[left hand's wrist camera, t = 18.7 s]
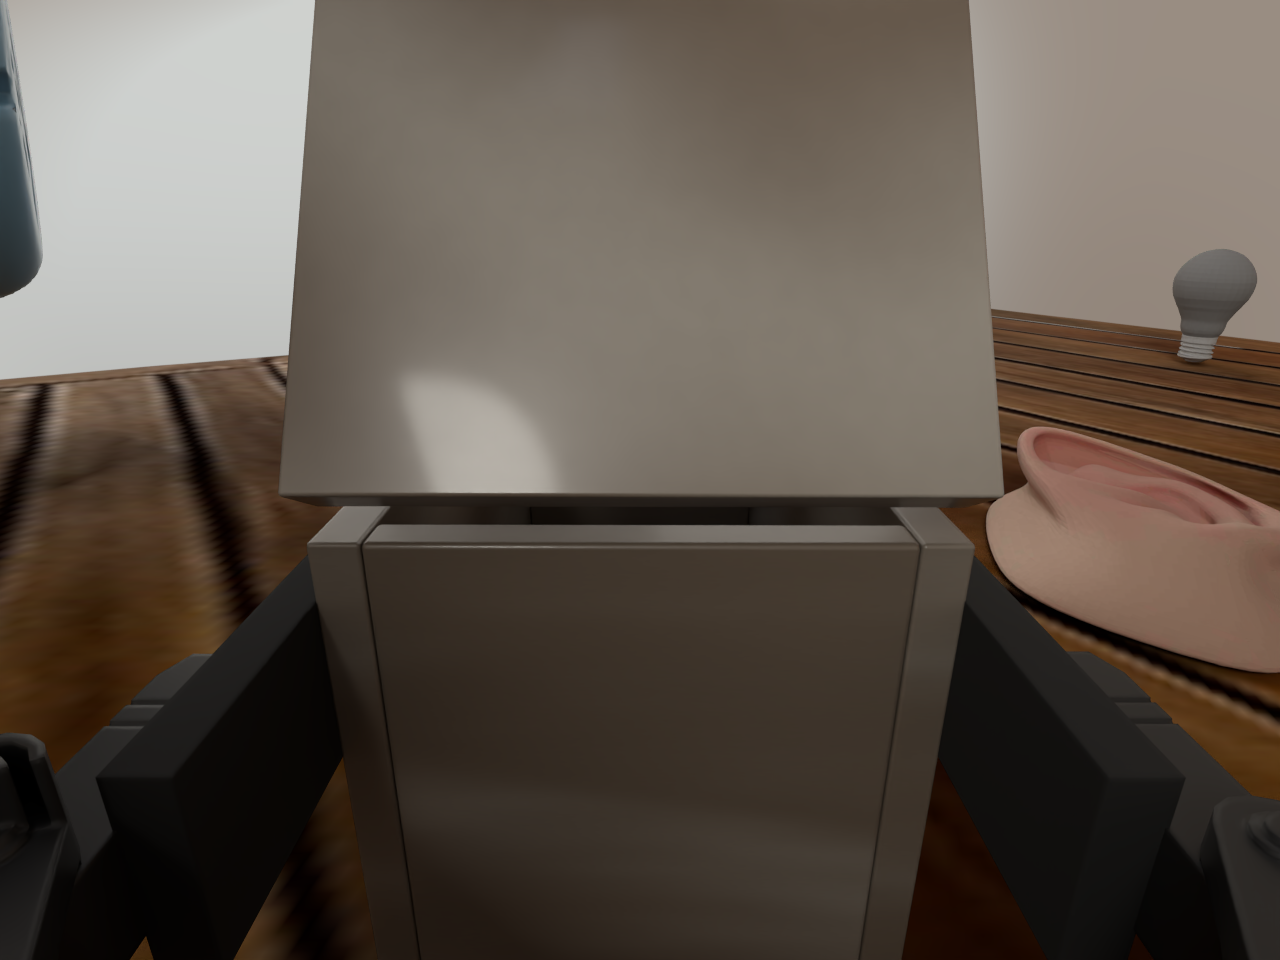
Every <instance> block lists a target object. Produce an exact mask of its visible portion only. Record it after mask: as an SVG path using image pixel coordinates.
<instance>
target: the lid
mask: <svg viewBox="0 0 1280 960" xmlns="http://www.w3.org/2000/svg"><path fill="white" fill-rule="evenodd" d="M278 493H279V495H280V496H281V497H284V498H288V499H292V500H296V501H300V502H303V503H307V504H311V505H315V506H446V507H952V508H964V507H968V506H972V505H976V504H980V503H984V502H988V501H992V500H996V499H1000V498H1002V497H1003V496H1004V486H1003V472H1002V458H1001V444H1000V430H999V417H998V403H997V389H996V375H995V361H994V347H993V333H992V319H991V305H990V291H989V277H988V263H987V249H986V236H985V222H984V208H983V194H982V180H981V166H980V152H979V138H978V124H977V110H976V96H975V82H974V69H973V54H972V41H971V26H970V13H969V0H315V11H314V24H313V37H312V51H311V64H310V78H309V91H308V104H307V118H306V131H305V144H304V158H303V171H302V185H301V198H300V211H299V225H298V238H297V251H296V264H295V278H294V291H293V305H292V318H291V332H290V344H289V358H288V371H287V384H286V398H285V411H284V425H283V438H282V451H281V465H280V478H279V491H278Z"/></svg>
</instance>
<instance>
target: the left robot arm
mask: <svg viewBox="0 0 1280 960" xmlns="http://www.w3.org/2000/svg"><path fill="white" fill-rule="evenodd" d="M41 263H42V238H41V228H40V220H39V212H38V204H37V196H36V188H35V181H34V174H33V166H32V160H31V152H30V145H29V138H28V131H27V125H26V118H25V111H24V105H23V99H22V92H21V87H20V80H19V73H18V66H17V60H16V53H15V46H14V40H13V34H12V28H11V22H10V16H9V10H8V4H7V0H0V298H2V297H5V296H7V295H10V294H13V293H14V292H16V291H18V290H20V289H21V288H23V287H25V286H26V285H27V284H29V283H30V282H31V280H32V279H33V278H34V277H35V276H36V274H37V273H38V270H39V268H40V266H41ZM342 757H343V753H342V748H341V742H340V736H339V730H338V725H337V719H336V713H335V708H334V702H333V696H332V690H331V684H330V679H329V673H328V667H327V661H326V656H325V650H324V644H323V638H322V632H321V627H320V621H319V615H318V609H317V603H316V598H315V592H314V586H313V580H312V574H311V569H310V563H309V557H308V555H307V556H306V557H305V558H304V559H303V560H302V561H301V562H300V563H299V564H298V565H297V566H296V567H295V568H294V569H293V570H292V571H291V573H290V574H289V575H288V576H287V577H286V578H285V579H284V580H283V581H282V582H281V583H280V584H279V585H278V586H277V587H276V588H275V589H274V590H273V591H272V592H271V594H270V595H269V596H268V597H267V598H266V599H265V600H264V601H263V602H262V603H261V604H260V605H259V606H258V607H257V608H256V609H255V610H254V611H253V612H252V613H251V614H250V616H249V617H248V618H247V619H246V620H245V621H244V622H243V623H242V624H241V625H240V626H239V627H238V628H237V629H236V630H235V631H234V632H233V633H232V634H231V635H230V637H229V638H228V639H227V640H226V641H225V642H224V643H223V644H222V645H221V646H220V647H219V648H218V649H217V650H216V651H215V652H214V653H213V654H192V655H191V656H189V657H187V658H186V659H184V660H182V661H180V662H179V663H177V664H175V665H174V666H172V667H170V668H169V669H167V670H165V671H163V672H162V673H160V674H158V675H157V676H156V677H155V678H154V679H153V680H152V681H151V682H150V683H149V684H148V685H147V686H146V687H144V688H143V689H142V690H141V691H140V692H139V693H138V694H137V695H136V696H135V697H134V698H133V699H132V703H131V705H126V706H125V707H124V708H123V709H122V710H121V711H120V712H119V713H118V714H117V715H116V716H115V717H114V718H113V719H112V720H111V721H110V725H109V726H104V727H103V728H102V729H101V730H100V731H99V732H98V733H97V734H96V735H95V736H94V737H93V738H92V739H91V740H90V741H89V742H88V743H87V744H86V745H85V746H84V747H83V748H82V749H81V750H80V751H79V752H78V753H77V754H76V755H75V756H74V757H72V758H71V759H70V760H69V761H68V762H67V763H66V764H65V765H64V766H63V767H62V768H61V769H60V770H59V771H58V772H57V773H56V774H54V771H53V768H52V765H51V762H50V759H49V757H48V754H47V751H46V748H45V745H44V743H43V742H42V741H40V740H38V739H37V738H35V737H34V736H32V735H28V734H16V733H4V734H0V960H130V958H131V957H132V955H133V954H134V953H135V951H136V950H137V948H138V947H139V945H140V944H141V942H142V941H143V939H144V938H145V936H146V937H147V940H148V943H149V946H150V949H151V953H152V956H153V959H154V960H233V959H234V957H235V956H236V954H237V952H238V950H239V948H240V946H241V944H242V943H243V941H244V939H245V937H246V935H247V933H248V931H249V930H250V928H251V926H252V924H253V922H254V920H255V918H256V917H257V915H258V913H259V911H260V909H261V907H262V905H263V904H264V902H265V900H266V898H267V896H268V894H269V893H270V891H271V889H272V887H273V885H274V883H275V881H276V880H277V878H278V876H279V874H280V872H281V870H282V868H283V867H284V865H285V863H286V861H287V859H288V857H289V855H290V854H291V852H292V850H293V848H294V846H295V844H296V842H297V841H298V839H299V837H300V835H301V833H302V831H303V829H304V828H305V826H306V824H307V822H308V820H309V818H310V816H311V815H312V813H313V811H314V809H315V807H316V805H317V803H318V802H319V800H320V798H321V796H322V794H323V792H324V790H325V789H326V787H327V785H328V783H329V781H330V779H331V778H332V776H333V774H334V772H335V770H336V768H337V766H338V765H339V763H340V761H341V759H342ZM938 757H939V759H940V761H941V763H942V765H943V767H944V769H945V770H946V772H947V774H948V776H949V778H950V780H951V782H952V783H953V785H954V787H955V789H956V791H957V793H958V794H959V796H960V798H961V800H962V802H963V804H964V806H965V807H966V809H967V811H968V813H969V815H970V817H971V819H972V820H973V822H974V824H975V826H976V828H977V830H978V832H979V833H980V835H981V837H982V839H983V841H984V843H985V845H986V846H987V848H988V850H989V852H990V854H991V856H992V858H993V859H994V861H995V863H996V865H997V867H998V869H999V871H1000V872H1001V874H1002V876H1003V878H1004V880H1005V882H1006V883H1007V885H1008V887H1009V889H1010V891H1011V893H1012V895H1013V896H1014V898H1015V900H1016V902H1017V904H1018V906H1019V908H1020V909H1021V911H1022V913H1023V915H1024V917H1025V919H1026V921H1027V922H1028V924H1029V926H1030V928H1031V930H1032V932H1033V934H1034V935H1035V937H1036V939H1037V941H1038V943H1039V945H1040V947H1041V948H1042V950H1043V952H1044V954H1045V956H1046V958H1047V959H1048V960H1127V959H1128V956H1129V953H1130V950H1131V947H1132V944H1133V940H1134V937H1135V934H1137V935H1138V937H1139V938H1140V940H1141V941H1142V943H1143V944H1144V946H1145V947H1146V949H1147V950H1148V951H1149V953H1150V954H1151V956H1152V957H1153V959H1154V960H1280V801H1278V800H1273V799H1268V798H1262V797H1256V796H1252V795H1251V794H1250V793H1249V792H1248V791H1247V790H1246V789H1244V788H1243V787H1242V786H1241V785H1240V784H1239V783H1238V782H1237V781H1236V780H1235V779H1234V778H1233V777H1232V776H1231V775H1230V774H1229V773H1228V772H1227V771H1226V770H1225V769H1224V768H1223V767H1222V766H1221V765H1220V764H1219V763H1218V762H1216V761H1215V760H1214V759H1213V758H1212V757H1211V756H1210V755H1209V754H1208V753H1207V752H1206V751H1205V750H1204V749H1203V748H1202V747H1201V746H1200V745H1199V744H1198V743H1197V742H1196V741H1195V740H1194V739H1193V738H1192V737H1191V736H1190V735H1189V734H1187V733H1186V732H1185V731H1184V730H1183V729H1182V728H1181V727H1180V726H1179V725H1178V724H1173V723H1172V718H1171V717H1170V716H1169V715H1168V714H1167V713H1166V712H1165V711H1164V710H1163V709H1162V708H1161V707H1160V706H1158V705H1157V704H1156V703H1151V701H1150V697H1149V696H1148V695H1147V694H1146V693H1145V692H1144V691H1143V690H1142V689H1141V688H1140V687H1139V686H1138V685H1137V684H1136V683H1135V682H1134V681H1133V680H1132V679H1130V678H1129V677H1128V676H1127V675H1126V674H1125V673H1124V672H1122V671H1121V670H1119V669H1117V668H1115V667H1114V666H1112V665H1110V664H1109V663H1107V662H1105V661H1104V660H1102V659H1100V658H1098V657H1097V656H1095V655H1093V654H1092V653H1090V652H1066V651H1065V650H1064V649H1063V648H1062V647H1061V646H1060V645H1059V644H1058V643H1057V642H1056V641H1055V640H1054V639H1053V638H1052V637H1051V636H1050V635H1049V633H1048V632H1047V631H1046V630H1045V629H1044V628H1043V627H1042V626H1041V625H1040V624H1039V623H1038V622H1037V621H1036V620H1035V619H1034V618H1033V617H1032V616H1031V615H1030V614H1029V612H1028V611H1027V610H1026V609H1025V608H1024V607H1023V606H1022V605H1021V604H1020V603H1019V602H1018V601H1017V600H1016V599H1015V598H1014V597H1013V596H1012V595H1011V594H1010V593H1009V592H1008V590H1007V589H1006V588H1005V587H1004V586H1003V585H1002V584H1001V583H1000V582H999V581H998V580H997V579H996V578H995V577H994V576H993V575H992V574H991V573H990V572H989V571H988V569H987V568H986V567H985V566H984V565H983V564H982V563H981V562H980V561H979V560H978V559H977V558H976V557H975V556H974V557H973V562H972V568H971V574H970V579H969V585H968V590H967V596H966V601H965V604H964V610H963V615H962V621H961V627H960V632H959V638H958V644H957V649H956V655H955V661H954V666H953V672H952V678H951V683H950V689H949V695H948V700H947V706H946V712H945V717H944V723H943V729H942V734H941V740H940V746H939V751H938Z"/></svg>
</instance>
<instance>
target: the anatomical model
mask: <svg viewBox="0 0 1280 960" xmlns="http://www.w3.org/2000/svg"><path fill="white" fill-rule="evenodd" d="M1017 455H1018V460H1019V463H1020V466H1021V469H1022V471H1023V473H1024V475H1025V477H1026V479H1027V480H1028V483H1027V484H1026V485H1025V486H1023V487H1021V488H1019V489H1017V490H1015V491H1013V492H1010V493H1008V494H1006V495H1004V496H1003V497H1002V498H1000V499H998V500H997V501H995V502H994V503H993V504H992V505H991V507H990V508H989V510H988V513H987V517H986V531H987V537H988V541H989V545H990V548H991V551H992V554H993V556H994V559H995V561H996V562H997V564H998V566H999V568H1000V570H1001V571H1002V572H1003V573H1004V575H1005V576H1006V577H1007V578H1008V579H1009V580H1010V581H1011V582H1012V583H1013V584H1014V585H1015V586H1016V587H1018V588H1019V589H1020V590H1022V591H1023V592H1024V593H1026V594H1028V595H1029V596H1031V597H1033V598H1034V599H1036V600H1038V601H1039V602H1041V603H1043V604H1045V605H1047V606H1049V607H1052V608H1054V609H1056V610H1058V611H1060V612H1063V613H1065V614H1067V615H1069V616H1072V617H1074V618H1076V619H1079V620H1081V621H1084V622H1086V623H1089V624H1092V625H1094V626H1097V627H1100V628H1102V629H1105V630H1107V631H1110V632H1113V633H1116V634H1119V635H1122V636H1125V637H1128V638H1131V639H1134V640H1137V641H1139V642H1142V643H1146V644H1149V645H1152V646H1155V647H1158V648H1161V649H1165V650H1168V651H1171V652H1174V653H1177V654H1181V655H1184V656H1188V657H1191V658H1195V659H1199V660H1202V661H1206V662H1210V663H1213V664H1217V665H1220V666H1225V667H1230V668H1235V669H1240V670H1245V671H1251V672H1261V673H1279V672H1280V511H1278V510H1276V509H1273V508H1271V507H1269V506H1267V505H1264V504H1262V503H1260V502H1258V501H1255V500H1253V499H1251V498H1249V497H1247V496H1244V495H1242V494H1240V493H1238V492H1236V491H1234V490H1231V489H1229V488H1227V487H1225V486H1223V485H1220V484H1218V483H1216V482H1214V481H1212V480H1209V479H1207V478H1205V477H1202V476H1200V475H1198V474H1195V473H1193V472H1190V471H1188V470H1186V469H1183V468H1180V467H1177V466H1175V465H1172V464H1169V463H1166V462H1163V461H1161V460H1158V459H1155V458H1152V457H1149V456H1146V455H1143V454H1140V453H1137V452H1134V451H1131V450H1128V449H1125V448H1123V447H1120V446H1117V445H1114V444H1111V443H1108V442H1105V441H1101V440H1098V439H1095V438H1091V437H1088V436H1084V435H1081V434H1077V433H1074V432H1070V431H1066V430H1061V429H1056V428H1050V427H1033V428H1029V429H1027V430H1025V431H1024V432H1023V433H1022V434H1021V435H1020V437H1019V440H1018V444H1017Z"/></svg>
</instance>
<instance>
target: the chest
mask: <svg viewBox="0 0 1280 960" xmlns="http://www.w3.org/2000/svg"><path fill="white" fill-rule="evenodd" d="M307 551H308V557H309V563H310V569H311V574H312V580H313V586H314V592H315V598H316V603H317V609H318V615H319V621H320V627H321V632H322V638H323V644H324V650H325V656H326V661H327V667H328V673H329V679H330V684H331V690H332V696H333V702H334V708H335V713H336V719H337V725H338V730H339V736H340V742H341V748H342V753H343V760H344V766H345V771H346V777H347V783H348V789H349V795H350V800H351V806H352V812H353V818H354V824H355V829H356V835H357V841H358V847H359V852H360V858H361V864H362V870H363V876H364V881H365V887H366V893H367V899H368V905H369V910H370V916H371V922H372V928H373V934H374V939H375V945H376V951H377V957H378V960H901V959H902V953H903V948H904V942H905V937H906V931H907V926H908V920H909V914H910V909H911V903H912V898H913V892H914V886H915V881H916V875H917V870H918V864H919V859H920V853H921V847H922V842H923V836H924V831H925V825H926V819H927V814H928V808H929V803H930V797H931V791H932V786H933V780H934V775H935V769H936V764H937V758H938V751H939V746H940V740H941V734H942V729H943V723H944V717H945V712H946V706H947V700H948V695H949V689H950V683H951V678H952V672H953V666H954V661H955V655H956V649H957V644H958V638H959V632H960V627H961V621H962V615H963V610H964V604H965V601H966V596H967V590H968V585H969V579H970V574H971V568H972V562H973V557H974V551H975V546H974V544H973V543H972V542H971V541H970V540H969V539H968V538H967V537H966V536H965V535H964V534H963V533H962V532H961V531H960V530H959V529H958V528H957V527H956V526H955V525H954V524H953V523H952V522H951V521H950V520H949V518H948V517H947V516H946V515H945V514H944V513H943V512H942V511H941V510H940V509H939V508H938V507H446V506H344V507H343V508H342V509H341V510H340V511H339V512H338V513H337V514H336V515H335V516H334V517H333V518H332V519H331V520H330V521H329V522H328V523H327V524H326V525H325V526H324V527H323V528H322V529H321V530H320V531H319V532H318V533H317V534H316V535H315V536H314V537H313V538H312V539H311V540H310V541H309V542H308V544H307Z"/></svg>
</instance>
